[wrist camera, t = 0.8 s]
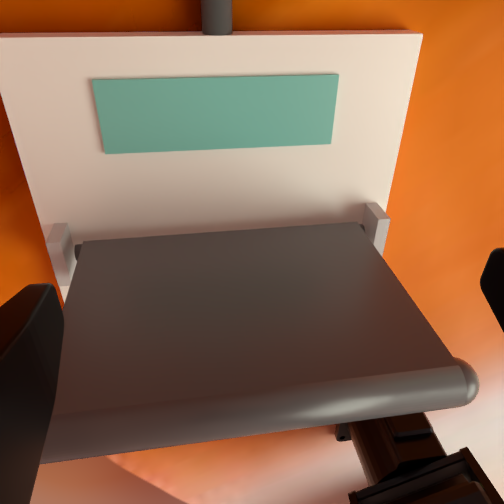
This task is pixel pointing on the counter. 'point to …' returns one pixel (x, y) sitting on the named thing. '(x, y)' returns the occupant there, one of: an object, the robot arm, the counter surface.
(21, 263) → the counter surface
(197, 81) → the switch plate
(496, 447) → the counter surface
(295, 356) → the lever
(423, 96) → the counter surface
